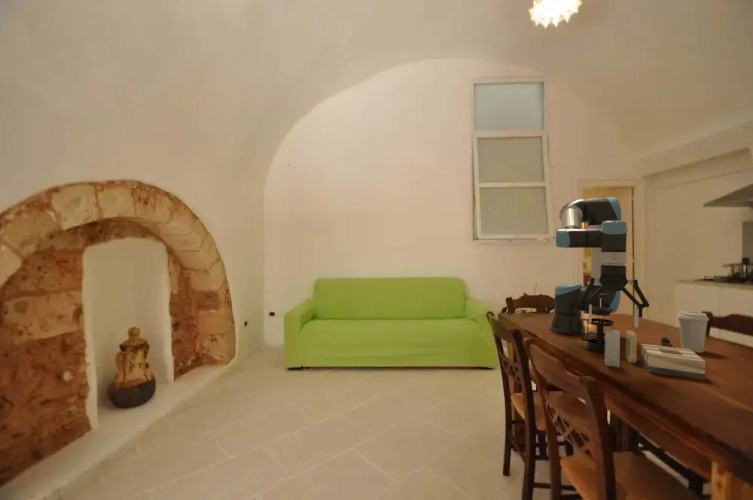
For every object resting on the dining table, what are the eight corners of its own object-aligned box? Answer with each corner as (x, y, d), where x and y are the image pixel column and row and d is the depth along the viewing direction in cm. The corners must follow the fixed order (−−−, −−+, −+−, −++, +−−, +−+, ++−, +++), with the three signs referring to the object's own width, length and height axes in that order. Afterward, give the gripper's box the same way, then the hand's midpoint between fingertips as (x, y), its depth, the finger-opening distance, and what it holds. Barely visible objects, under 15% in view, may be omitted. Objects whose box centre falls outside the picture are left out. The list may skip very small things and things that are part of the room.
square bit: (604, 361, 125) (604, 329, 125) (617, 363, 123) (618, 330, 123) (605, 365, 121) (606, 331, 121) (619, 367, 119) (619, 332, 119)
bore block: (640, 359, 127) (640, 343, 127) (690, 366, 121) (690, 349, 120) (649, 372, 115) (649, 354, 115) (704, 380, 108) (705, 361, 108)
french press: (616, 349, 140) (617, 293, 139) (615, 355, 132) (616, 295, 132) (582, 344, 147) (583, 290, 146) (580, 349, 139) (581, 293, 139)
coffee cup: (715, 353, 134) (716, 315, 134) (690, 353, 135) (691, 315, 134) (693, 346, 144) (694, 310, 144) (670, 346, 144) (670, 310, 144)
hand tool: (680, 361, 127) (680, 348, 127) (665, 358, 129) (666, 346, 129) (672, 348, 143) (672, 337, 142) (659, 346, 145) (659, 335, 145)
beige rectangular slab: (625, 356, 132) (626, 330, 132) (632, 356, 131) (632, 330, 131) (629, 362, 125) (629, 334, 124) (636, 363, 124) (636, 335, 124)
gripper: (573, 263, 124) (572, 322, 124) (660, 266, 112) (660, 331, 112) (572, 263, 131) (571, 318, 131) (655, 265, 119) (654, 326, 119)
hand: (612, 324), depth 122 cm, fingers open, 13 cm apart
